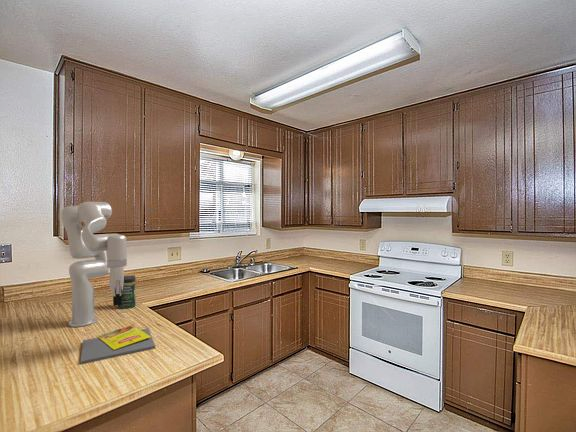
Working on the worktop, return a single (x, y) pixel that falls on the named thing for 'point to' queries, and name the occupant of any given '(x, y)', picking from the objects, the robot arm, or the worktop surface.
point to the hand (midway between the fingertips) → (117, 304)
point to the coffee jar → (128, 292)
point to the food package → (123, 337)
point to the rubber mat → (100, 350)
